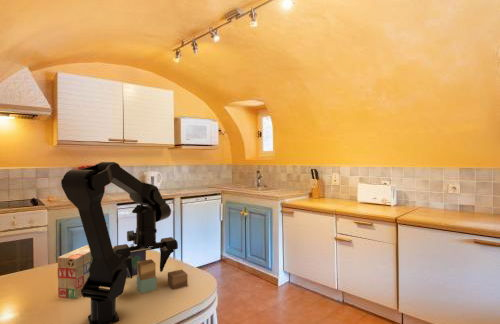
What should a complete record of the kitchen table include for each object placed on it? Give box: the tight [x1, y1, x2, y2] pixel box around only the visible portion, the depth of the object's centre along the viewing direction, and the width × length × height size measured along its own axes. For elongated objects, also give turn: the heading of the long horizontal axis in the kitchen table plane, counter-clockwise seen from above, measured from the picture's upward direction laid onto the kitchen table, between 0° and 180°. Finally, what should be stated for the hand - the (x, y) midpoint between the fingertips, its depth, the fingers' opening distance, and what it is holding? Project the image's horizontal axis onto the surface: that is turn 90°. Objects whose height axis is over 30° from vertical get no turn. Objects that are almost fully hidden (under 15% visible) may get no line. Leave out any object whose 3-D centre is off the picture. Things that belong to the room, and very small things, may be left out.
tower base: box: [136, 275, 158, 294], centre depth 93 cm, size 5×5×4 cm
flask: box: [126, 243, 147, 279], centre depth 104 cm, size 9×3×11 cm, turn 133°
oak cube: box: [136, 258, 157, 280], centre depth 93 cm, size 4×4×4 cm
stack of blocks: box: [57, 244, 115, 300], centre depth 97 cm, size 21×6×12 cm, turn 170°
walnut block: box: [167, 268, 188, 290], centre depth 96 cm, size 5×5×4 cm
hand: (146, 274), depth 93 cm, fingers open, 9 cm apart
